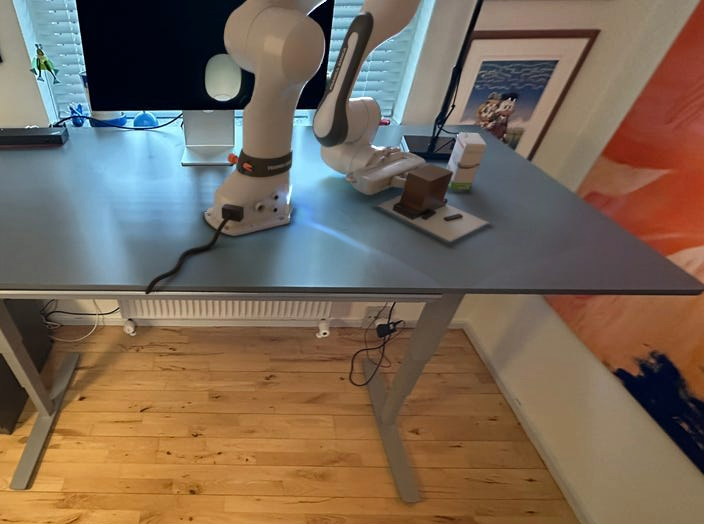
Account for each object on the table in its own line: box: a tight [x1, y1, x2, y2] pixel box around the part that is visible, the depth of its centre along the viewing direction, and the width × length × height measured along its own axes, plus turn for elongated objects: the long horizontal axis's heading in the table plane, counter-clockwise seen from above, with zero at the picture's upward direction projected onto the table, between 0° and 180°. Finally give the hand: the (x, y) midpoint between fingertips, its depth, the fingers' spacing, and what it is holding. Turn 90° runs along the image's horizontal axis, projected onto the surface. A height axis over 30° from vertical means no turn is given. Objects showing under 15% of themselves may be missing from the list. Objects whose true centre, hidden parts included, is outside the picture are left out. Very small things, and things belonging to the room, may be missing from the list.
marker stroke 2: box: [444, 214, 463, 221], centre depth 95 cm, size 4×1×1 cm, turn 111°
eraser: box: [393, 163, 453, 220], centre depth 96 cm, size 12×6×8 cm, turn 123°
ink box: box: [446, 131, 488, 191], centre depth 104 cm, size 9×5×12 cm, turn 171°
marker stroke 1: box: [422, 210, 436, 220], centre depth 96 cm, size 4×1×1 cm, turn 131°
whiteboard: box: [376, 194, 490, 243], centre depth 98 cm, size 14×21×1 cm, turn 33°
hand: (414, 184), depth 98 cm, fingers closed
